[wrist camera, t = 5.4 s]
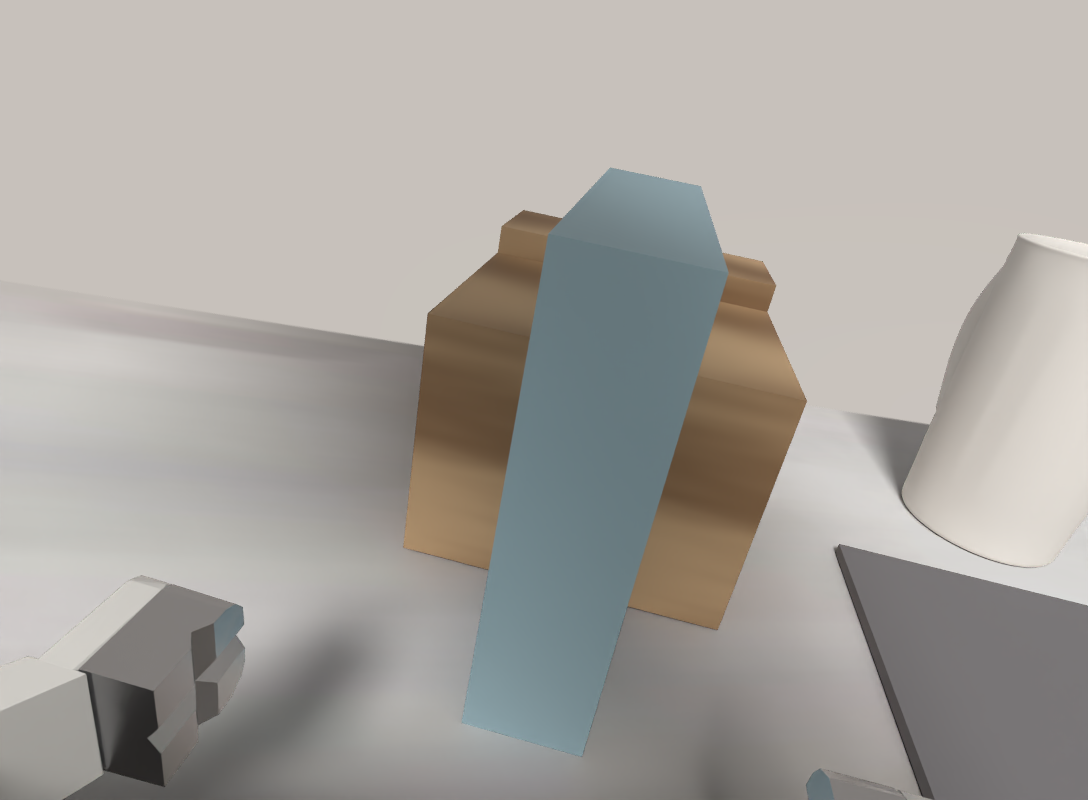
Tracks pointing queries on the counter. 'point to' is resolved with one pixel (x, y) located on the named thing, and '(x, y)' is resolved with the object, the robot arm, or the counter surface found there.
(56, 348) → the counter surface
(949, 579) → the mat
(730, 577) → the slot box
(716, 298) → the blue rectangular block
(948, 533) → the mug
